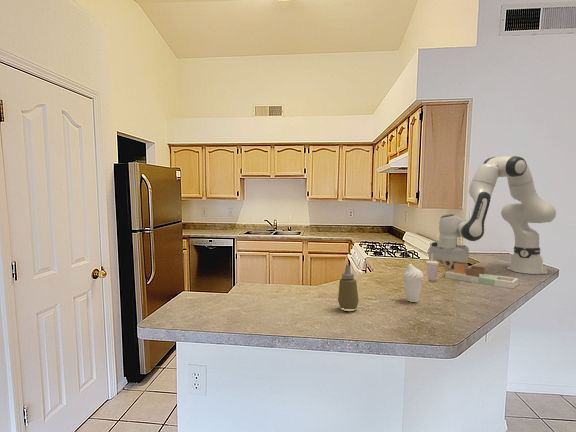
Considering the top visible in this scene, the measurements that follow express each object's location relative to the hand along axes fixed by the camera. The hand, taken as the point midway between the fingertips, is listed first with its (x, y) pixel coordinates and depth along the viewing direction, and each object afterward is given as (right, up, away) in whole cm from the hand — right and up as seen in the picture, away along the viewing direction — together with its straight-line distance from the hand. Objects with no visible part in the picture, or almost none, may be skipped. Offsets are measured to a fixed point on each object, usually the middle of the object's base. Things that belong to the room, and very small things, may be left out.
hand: (448, 268), depth 173 cm
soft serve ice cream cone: (-36, -7, -41) cm, 55 cm away
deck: (+10, -4, -11) cm, 16 cm away
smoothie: (-12, -5, -7) cm, 15 cm away
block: (+4, -1, -5) cm, 7 cm away
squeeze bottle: (-65, -8, -49) cm, 81 cm away
